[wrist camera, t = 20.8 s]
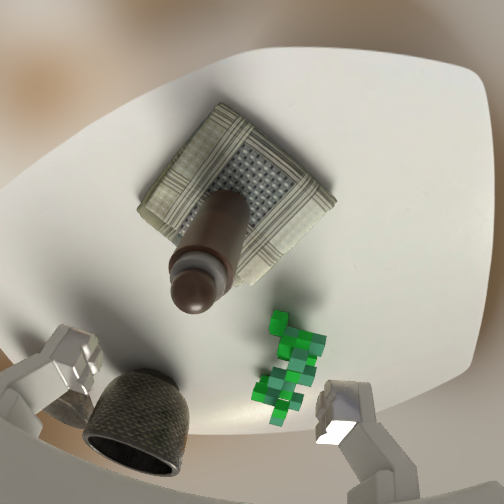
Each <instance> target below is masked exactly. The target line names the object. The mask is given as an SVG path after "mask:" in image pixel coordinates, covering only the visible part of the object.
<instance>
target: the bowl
mask: <svg viewBox="0 0 504 504" xmlns="http://www.w3.org/2000/svg"><path fill="white" fill-rule="evenodd" d="M42 410H43V411H44V412H46V413H47V414H49V415H50V416H52V417H54V418H55V419H57V420H59V421H61V422H63V423H64V424H67V425H70V426H72V427H75V428H78V429H83V430H84V429H85V427H86V424H87V422H88V420H89V418H90V416H91V414H92V412H93V410H94V407H93V404H92V401H91V398H90V396H89V394H88V395H85V394H82V393H79V392H76V391H74V390H71V389H69V390H68V391H67V392H65V393H64V394H63V395H61V396H60V397H58V398H57V399H56V400H54V401H53V402H52V403H50V404H49V405H48V406H46V407H45V408H43V409H42Z"/></svg>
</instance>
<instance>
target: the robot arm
mask: <svg viewBox="0 0 504 504" xmlns="http://www.w3.org/2000/svg"><path fill="white" fill-rule="evenodd" d="M98 342H99V340H98V337H97V335H94V334H91V333H88V332H85V331H82V330H79V329H76V328H73V327H70V326H67V325H64V324H61V325H59V326H58V327H57V329H56V330H55V331H54V333H53V334H52V336H51V337H50V339H49V340H48V342H47V343H46V345H45V346H44V348H43V349H42V351H41V352H40V354H38V353H36V354H34V355H32V356H30V357H28V358H26V359H24V360H22V361H20V362H19V363H17V364H15V365H13V366H11V367H9V368H7V369H5V370H4V371H2V372H0V504H250V503H243V502H235V501H228V500H222V499H216V498H210V497H205V496H200V495H195V494H190V493H186V492H181V491H177V490H173V489H169V488H165V487H161V486H158V485H154V484H150V483H147V482H144V481H140V480H137V479H134V478H131V477H128V476H125V475H122V474H119V473H116V472H113V471H111V470H108V469H105V468H103V467H100V466H97V465H95V464H92V463H90V462H87V461H85V460H82V459H80V458H78V457H76V456H73V455H71V454H69V453H67V452H65V451H62V450H60V449H58V448H56V447H54V446H52V445H50V444H48V443H46V442H44V441H42V440H40V439H38V436H39V434H40V432H41V430H42V428H43V424H42V422H41V421H40V420H39V419H38V418H37V416H36V415H35V414H37V413H38V412H39V411H40V410H42V409H43V408H45V407H46V406H48V405H49V404H50V403H52V402H53V401H54V400H56V399H57V398H58V397H60V396H61V395H63V394H64V393H65V392H67V391H68V390H69V389H71V390H74V391H76V392H79V393H82V394H85V395H88V393H89V391H90V389H91V387H92V385H93V383H94V379H93V376H94V375H95V374H97V373H99V371H100V369H101V367H102V362H103V352H102V349H101V348H100V347H99V346H98V345H97V344H98ZM316 417H317V419H318V420H319V422H318V424H317V426H316V443H324V444H339V445H338V446H339V448H340V450H341V451H342V453H343V455H344V456H345V458H346V460H347V461H348V463H349V464H350V466H351V468H352V469H353V471H354V473H355V474H356V476H357V478H358V479H359V481H360V482H361V483H360V484H359V485H357V486H356V487H354V488H352V489H351V490H350V491H349V492H348V493H347V502H348V503H347V504H504V487H503V486H502V485H501V484H500V483H498V482H497V481H489V482H486V483H482V484H479V485H476V486H472V487H469V488H465V489H461V490H457V491H453V492H449V493H445V494H440V495H436V496H431V497H426V498H420V493H419V484H418V476H417V468H416V465H415V464H414V463H413V462H412V461H411V460H410V458H409V457H408V456H407V455H406V453H405V452H404V451H403V450H402V449H401V447H400V446H399V445H398V444H397V442H396V441H395V440H394V439H393V438H392V436H391V435H390V434H389V433H388V432H387V430H386V429H385V428H384V427H383V425H382V424H381V423H377V422H376V415H375V408H374V401H373V394H372V388H371V385H370V383H367V382H355V381H338V380H328V381H326V383H325V385H324V391H322V392H320V394H319V396H318V399H317V403H316Z"/></svg>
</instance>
